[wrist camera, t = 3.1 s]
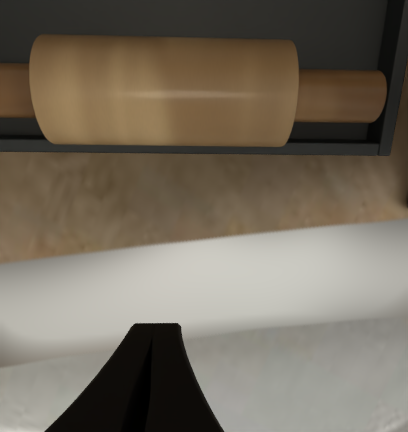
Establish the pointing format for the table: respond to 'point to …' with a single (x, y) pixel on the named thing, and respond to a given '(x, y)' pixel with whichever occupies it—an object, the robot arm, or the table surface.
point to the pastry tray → (230, 28)
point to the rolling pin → (180, 91)
